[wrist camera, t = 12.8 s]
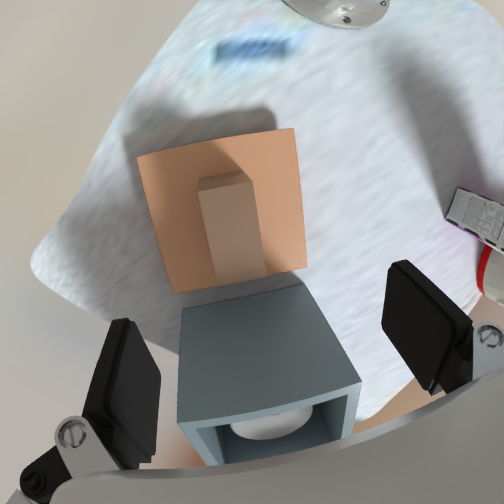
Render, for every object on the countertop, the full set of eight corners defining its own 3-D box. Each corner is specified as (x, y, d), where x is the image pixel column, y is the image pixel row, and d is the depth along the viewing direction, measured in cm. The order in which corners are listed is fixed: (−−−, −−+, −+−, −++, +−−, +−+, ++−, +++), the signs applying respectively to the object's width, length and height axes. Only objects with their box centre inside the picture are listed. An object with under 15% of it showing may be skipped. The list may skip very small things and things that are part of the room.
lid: (143, 154, 23) (119, 165, 16) (285, 128, 24) (316, 129, 17) (175, 280, 29) (169, 327, 22) (299, 255, 30) (326, 295, 23)
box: (182, 309, 30) (176, 423, 17) (304, 283, 31) (362, 381, 18) (211, 387, 35) (221, 482, 23) (309, 366, 36) (346, 453, 24)
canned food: (281, 307, 31) (312, 383, 22) (289, 357, 35) (314, 428, 25) (211, 324, 31) (218, 405, 21) (228, 371, 34) (239, 446, 24)
